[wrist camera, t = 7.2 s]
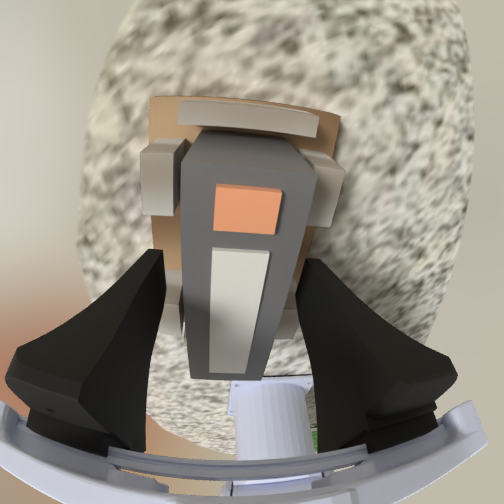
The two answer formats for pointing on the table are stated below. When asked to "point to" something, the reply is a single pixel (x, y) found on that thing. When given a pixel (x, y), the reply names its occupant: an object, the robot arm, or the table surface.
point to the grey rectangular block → (239, 247)
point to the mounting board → (239, 120)
